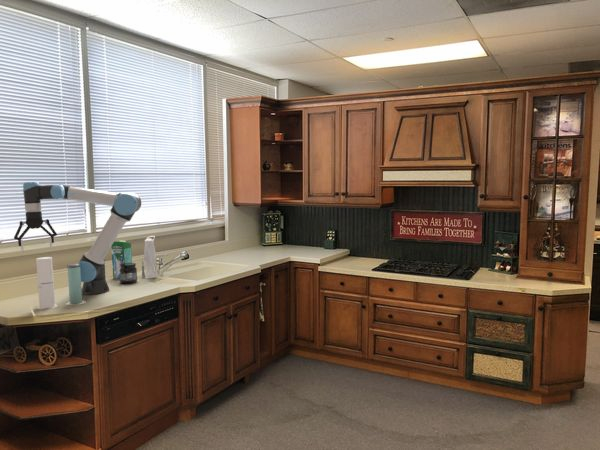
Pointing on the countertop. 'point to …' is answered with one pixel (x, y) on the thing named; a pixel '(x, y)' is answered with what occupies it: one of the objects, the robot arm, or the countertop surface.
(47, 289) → the tall white block
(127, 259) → the milk carton
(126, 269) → the supplement container
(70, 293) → the teal tube
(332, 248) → the countertop surface
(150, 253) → the skyscraper
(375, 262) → the countertop surface
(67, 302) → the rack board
